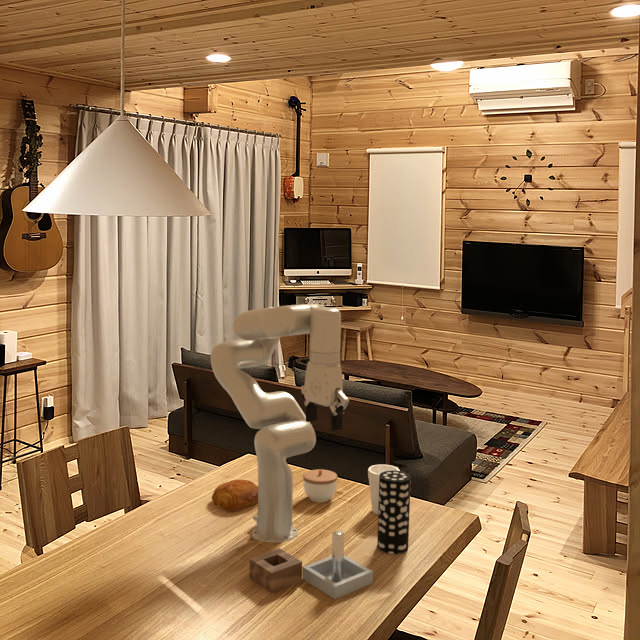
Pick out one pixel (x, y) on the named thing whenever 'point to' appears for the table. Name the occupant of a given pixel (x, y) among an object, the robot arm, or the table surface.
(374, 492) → the foam cup
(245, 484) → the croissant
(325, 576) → the tray
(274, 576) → the socket block
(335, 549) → the steel pin
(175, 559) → the table surface
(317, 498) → the lidded jar
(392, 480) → the spotted tube
